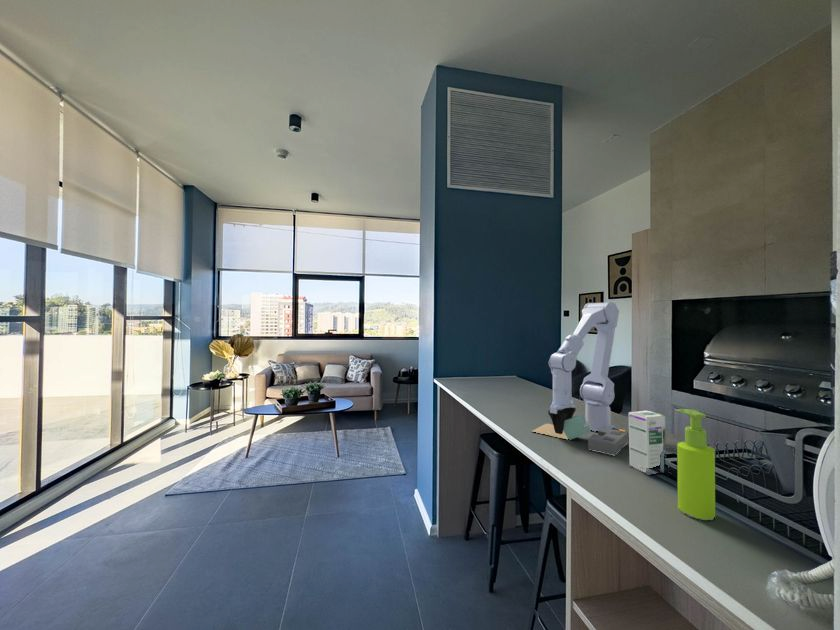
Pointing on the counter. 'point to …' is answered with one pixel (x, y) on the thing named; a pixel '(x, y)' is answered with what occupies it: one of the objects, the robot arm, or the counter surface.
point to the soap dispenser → (696, 470)
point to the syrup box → (646, 439)
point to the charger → (576, 427)
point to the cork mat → (549, 431)
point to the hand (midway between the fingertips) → (562, 431)
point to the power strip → (608, 440)
